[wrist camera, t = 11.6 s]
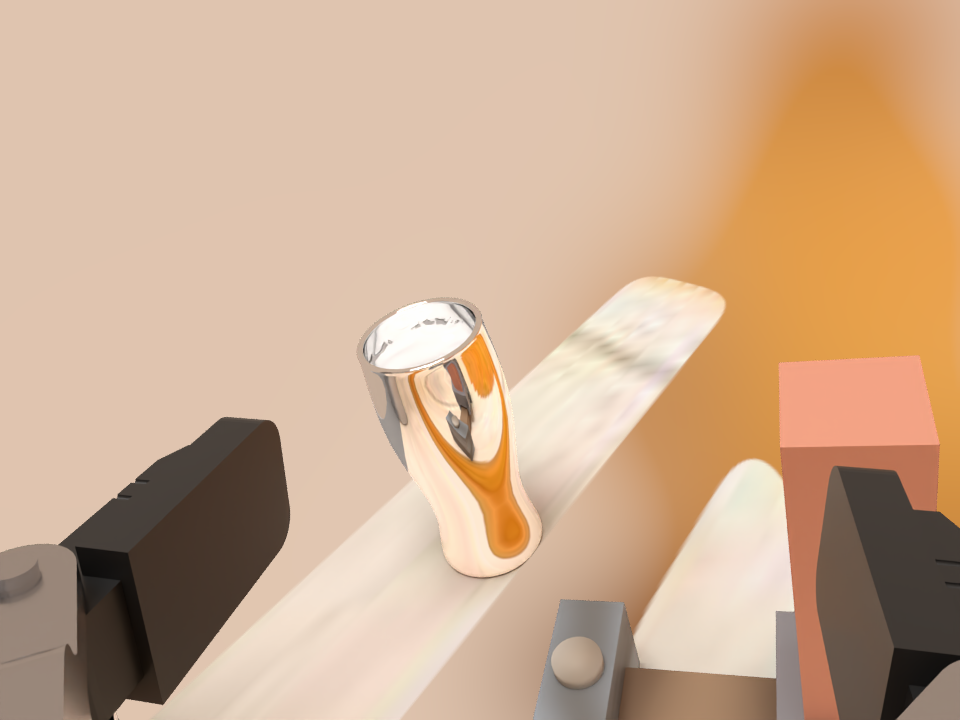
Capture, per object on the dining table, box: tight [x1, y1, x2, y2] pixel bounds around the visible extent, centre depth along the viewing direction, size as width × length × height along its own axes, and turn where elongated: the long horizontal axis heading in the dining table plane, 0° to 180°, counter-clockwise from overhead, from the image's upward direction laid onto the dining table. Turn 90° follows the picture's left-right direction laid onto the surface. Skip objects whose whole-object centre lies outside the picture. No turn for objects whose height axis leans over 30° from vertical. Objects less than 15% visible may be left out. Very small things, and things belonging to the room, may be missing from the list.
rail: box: [533, 599, 777, 720], centre depth 35 cm, size 19×7×5 cm, turn 76°
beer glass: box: [357, 298, 542, 577], centre depth 46 cm, size 7×7×15 cm
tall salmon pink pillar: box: [776, 356, 940, 720], centre depth 29 cm, size 6×6×17 cm
